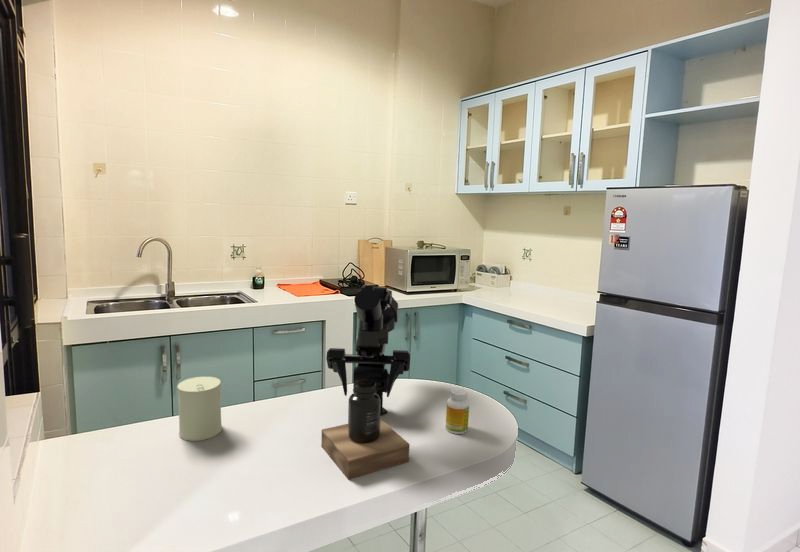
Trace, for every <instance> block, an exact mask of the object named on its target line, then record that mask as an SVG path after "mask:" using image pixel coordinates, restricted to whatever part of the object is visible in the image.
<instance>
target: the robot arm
mask: <svg viewBox="0 0 800 552" xmlns="http://www.w3.org/2000/svg"><path fill="white" fill-rule="evenodd" d="M353 300H354V306H355V311H356V314H357V315H356V316H357V319H358V328H357V330H358V331H357V339H356V341H355V342H356V343H355V352H356V354H348V353H347V354H346V348H338V347H336V348H335V347H334V348H333V347H332V348H329V349H327V351H326V356H325V357H326V358H325V360H326V364H327V367H328V368H327V369H330V370H332V371H333V372H334V373H337V374H338V376H339V378H340V381H341V385H342V386H341V387H342V390H343V394H344V396H346V397H347V395H348V394H347V393H348V383H347V382H348V379H347V378H348V377H347V367H346V365H347V364H357V365H356V366H355V367H354V369H353V383H354V382H355V381H358V380H363V379H367V380H372V381H374V382H376V394H378V396H379V397H380V416H381V415H384V414H388V410H387V409H386V408H385V407H384V406H383V403H384V398H383V397H384V396H383V395H384V393H386V397H387V398H389V396H390V394H391V391H392V389H393V387H394V384H395V382H396V381H397V379H398V377H399V375H403V374H404V372H408V371H410V365H411V353H410V351H409V350H404V349H403V350H399V349H398V350H397V349H395V350H394V349H393V350H392V355H385V350H386V346H387V345H388V344H389V333H390V332H391V331H393V330H395V327H396V323H397V324H398V321H399V303H398V302H397V300H396V299H395V298H394V297H393V291H392V290H390V289H388V287H387V286H374V285H363V286H361V289H359V291H358V292H357V293H356V294H355V296H354V299H353ZM387 365H390V370H389V369H388V368H387Z"/></svg>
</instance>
